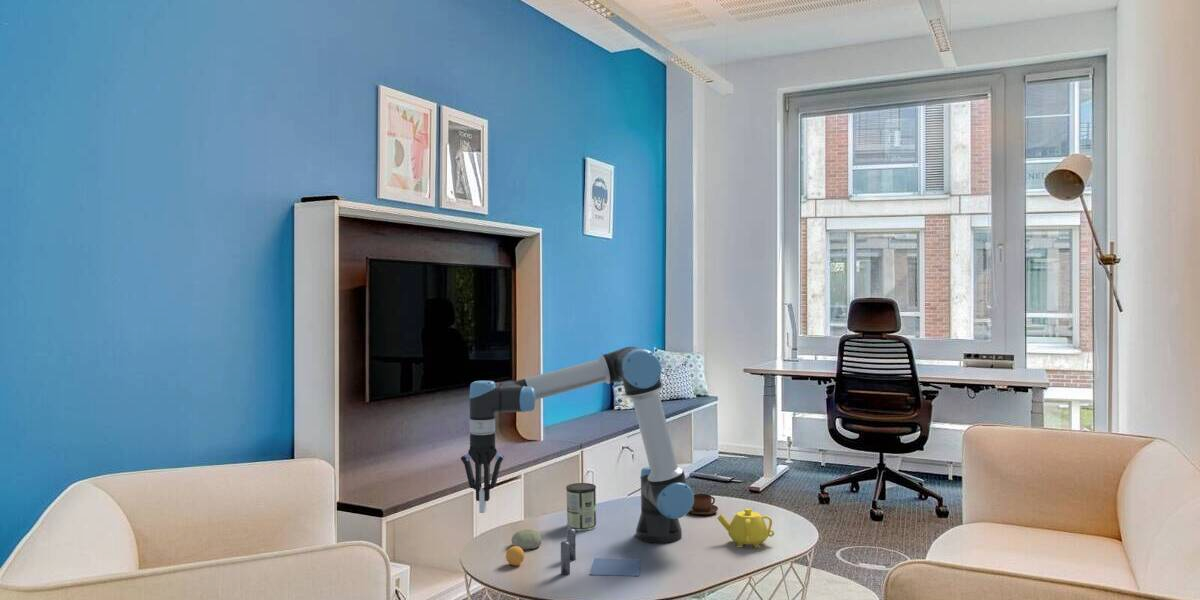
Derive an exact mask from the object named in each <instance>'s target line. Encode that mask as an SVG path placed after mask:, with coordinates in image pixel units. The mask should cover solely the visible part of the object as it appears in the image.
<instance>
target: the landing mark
mask: <svg viewBox="0 0 1200 600" xmlns="http://www.w3.org/2000/svg"><path fill="white" fill-rule="evenodd" d="M641 561H642V560H641V558H640V559H639V558H634V559H633V558H604V557H602V558H596V557H594V559H593V561H592V565H591V568H590V571H589V576H607V577H608V576H610V577H611V576H612V577H613V576H614V577H615V576H616V577H639V575H638V574H639V573H640V568H639V567H641Z"/></svg>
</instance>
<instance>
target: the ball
mask: <svg viewBox="0 0 1200 600" xmlns="http://www.w3.org/2000/svg"><path fill="white" fill-rule="evenodd" d="M505 559H506V562H507V563H508V564H509V565H511V566H519V565H521V564H522V563H523V562H524V559H525V552H524V549H522V548H520V547H518V546H514V545H512V546H510V547H509V548H508V549H507V550H506V553H505Z"/></svg>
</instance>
